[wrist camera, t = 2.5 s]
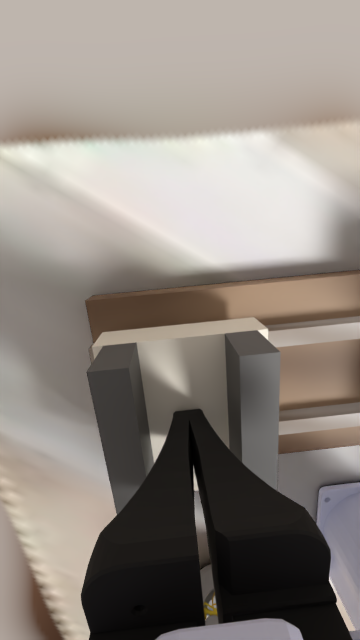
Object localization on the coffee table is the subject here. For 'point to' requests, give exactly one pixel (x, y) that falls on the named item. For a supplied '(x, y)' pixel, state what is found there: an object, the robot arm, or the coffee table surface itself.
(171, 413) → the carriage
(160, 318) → the rail board
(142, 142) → the coffee table surface
